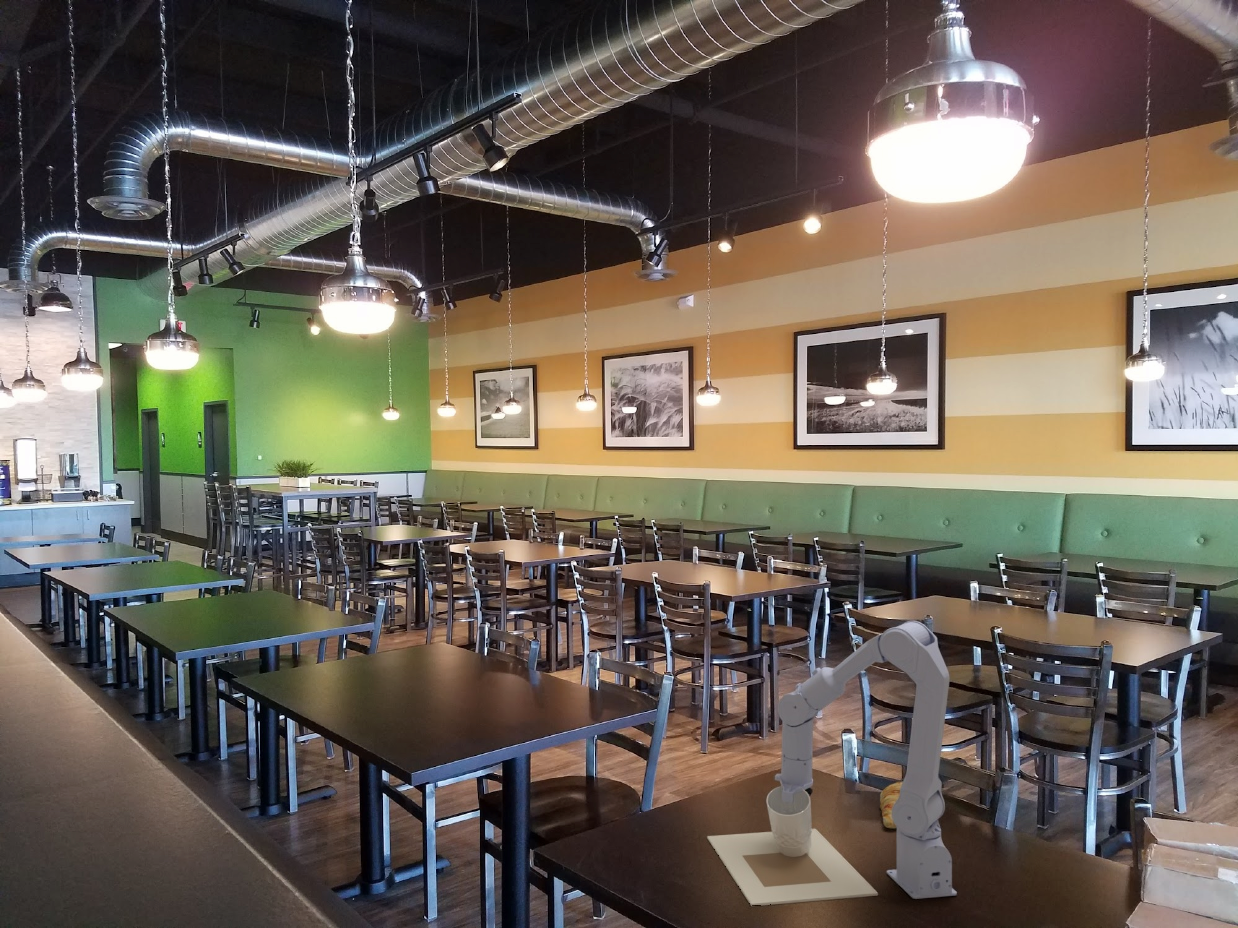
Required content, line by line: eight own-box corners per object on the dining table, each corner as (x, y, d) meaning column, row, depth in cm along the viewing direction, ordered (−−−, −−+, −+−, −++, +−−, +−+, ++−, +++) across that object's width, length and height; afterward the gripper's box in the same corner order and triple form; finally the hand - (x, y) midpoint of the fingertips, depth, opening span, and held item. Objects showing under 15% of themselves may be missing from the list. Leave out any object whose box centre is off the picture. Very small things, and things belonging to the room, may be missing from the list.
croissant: (902, 854, 164) (921, 822, 162) (857, 818, 170) (875, 787, 167) (934, 816, 181) (952, 787, 179) (892, 785, 187) (909, 756, 184)
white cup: (815, 860, 152) (811, 815, 149) (771, 859, 154) (765, 815, 151) (814, 828, 160) (809, 784, 157) (771, 827, 161) (766, 784, 158)
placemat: (877, 895, 141) (877, 892, 141) (751, 906, 137) (751, 903, 137) (815, 830, 167) (815, 828, 167) (707, 838, 163) (707, 836, 163)
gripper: (785, 740, 168) (783, 808, 168) (766, 763, 155) (764, 837, 155) (821, 746, 165) (819, 815, 165) (804, 770, 152) (803, 846, 152)
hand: (795, 827), depth 160 cm, fingers closed, pressing on white cup
